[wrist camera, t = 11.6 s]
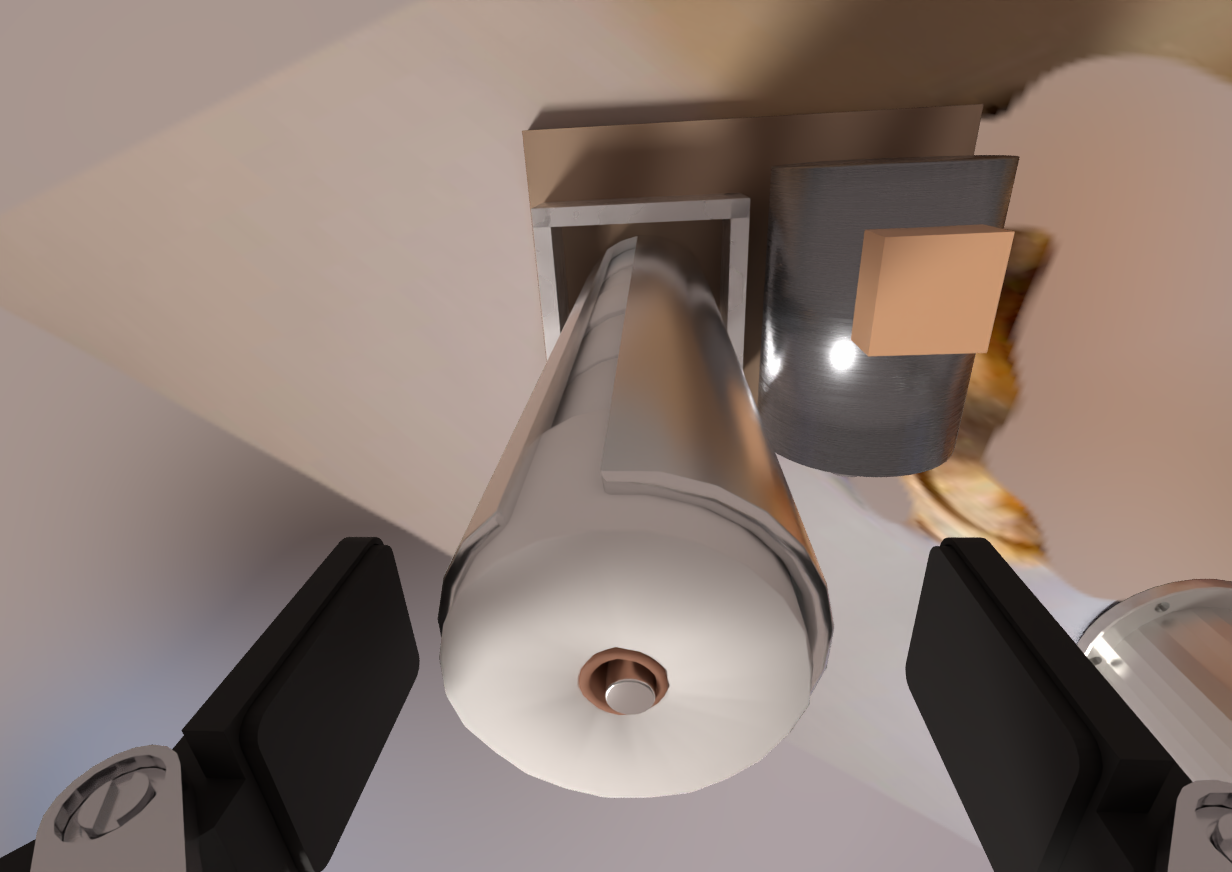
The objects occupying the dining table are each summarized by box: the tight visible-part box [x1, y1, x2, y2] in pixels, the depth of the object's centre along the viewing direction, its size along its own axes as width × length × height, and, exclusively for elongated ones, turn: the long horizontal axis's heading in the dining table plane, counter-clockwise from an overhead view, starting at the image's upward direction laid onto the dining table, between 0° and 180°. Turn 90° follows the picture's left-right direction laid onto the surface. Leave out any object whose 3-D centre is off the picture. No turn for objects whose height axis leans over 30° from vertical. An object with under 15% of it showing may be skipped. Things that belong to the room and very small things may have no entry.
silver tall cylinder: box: [438, 235, 834, 798], centre depth 20 cm, size 6×6×25 cm
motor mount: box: [522, 104, 1019, 477], centre depth 26 cm, size 21×16×12 cm
